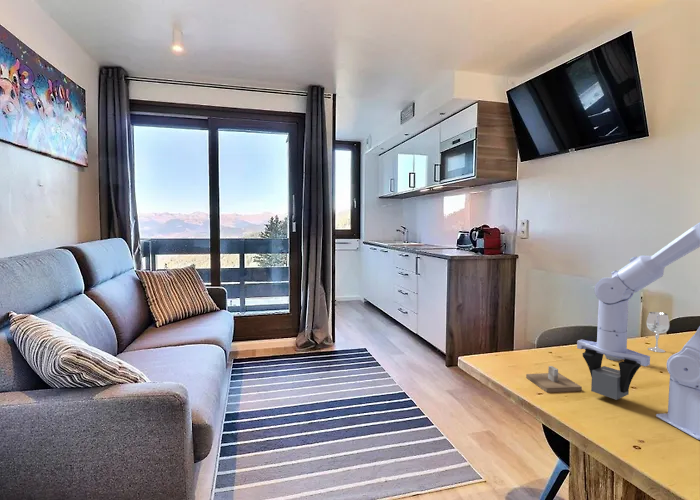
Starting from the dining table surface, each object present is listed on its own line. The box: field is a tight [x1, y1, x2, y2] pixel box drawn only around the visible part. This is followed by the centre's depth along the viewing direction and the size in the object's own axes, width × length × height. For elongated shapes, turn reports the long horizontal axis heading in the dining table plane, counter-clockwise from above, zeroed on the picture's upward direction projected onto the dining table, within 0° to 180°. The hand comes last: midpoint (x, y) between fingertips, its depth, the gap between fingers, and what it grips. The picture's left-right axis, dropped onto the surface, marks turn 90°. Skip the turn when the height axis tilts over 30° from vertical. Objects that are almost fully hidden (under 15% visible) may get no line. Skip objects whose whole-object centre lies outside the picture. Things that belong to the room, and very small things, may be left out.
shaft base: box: [525, 365, 583, 393], centre depth 98 cm, size 9×9×4 cm
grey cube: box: [590, 365, 629, 401], centre depth 90 cm, size 5×5×5 cm
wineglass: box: [646, 311, 670, 353], centre depth 125 cm, size 6×6×12 cm
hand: (609, 386), depth 90 cm, fingers closed on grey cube, 5 cm apart
